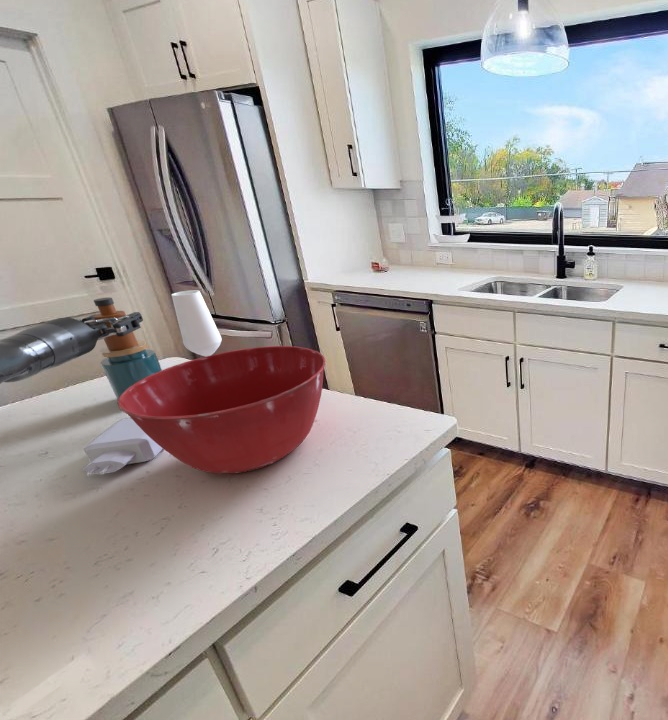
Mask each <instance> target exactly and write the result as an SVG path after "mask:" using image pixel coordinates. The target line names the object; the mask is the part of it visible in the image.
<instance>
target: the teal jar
mask: <svg viewBox="0 0 668 720" xmlns="http://www.w3.org/2000/svg"><path fill="white" fill-rule="evenodd" d="M137 342H138V345H136V346H134V347H131V348H127V349H123V350H114V351H112V350H109V349H108V347H107V346H105V347H103V348H101V349H99V353H100V356H101V357H103V358H104V359H102V360H101V361H100V363H99V364H100V366H101V368H102V370H103V372H104V375H105V376H106V379H107V381H108V383H109V385H110V387H111V389H112V391H113V394H114V397H115V398H116V400H117V401H118V400H119V397H120V396H121V395H122V393H123V392H124V391H125V390H127V389H128V388H129V387H130V386H132V385H134V384H135V383H137V382H139V381H140V380H142V379H144V378H146V377H148V376H150V375H152V374H154V373H157V372H159V371H162V370H163V368H162V366H161V364H160V362H159V359H158V356H157V354H156V351H155V350H154V349H148V347H149V345H148V342H147V341H146V340H137Z"/></svg>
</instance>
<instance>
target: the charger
mask: <svg viewBox="0 0 668 720" xmlns="http://www.w3.org/2000/svg"><path fill="white" fill-rule="evenodd" d="M162 450H164V449H163V448H162V447H160V446H159V445H158V444H157V443H156V442H154V441H153V440H152V439H151V438H150V437H149V436H148V435H147V434H146V433H145V432H144V431H143V430H142V429H141V428H140V427H139V426H138V425H137V424H136V423H135V422H134V421H133V420H132V418H131V417H125V418H120V419H119V420H118V421H116V422H115V423H113V424H112V425H111V426H110V427H108V428H107V429H106V430H104V432H102V433H100V435H98V436H97V437H96V438H94V439H93V440H92V441H90V442H89V443H88V444H86V445H85V446H84V447H83V451H84V453H85V455H86V457H87V459H88V461H89V463H88V464H86V465H85V466H84V467H83V469H82V471H83V472H86V473H87V474H86V475H85V476H86V477H91V476H92V475H93V474H96V475H101V476H102V475H104V474H108V473H116V472H117V471H119V470H120V469H123V468H124V467H125V466H126V465H131V464H137V463H138V464H139V463H143V462H149V461H151V460H154V458H156V457H157V456H158V454H159V453H161V451H162Z"/></svg>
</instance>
